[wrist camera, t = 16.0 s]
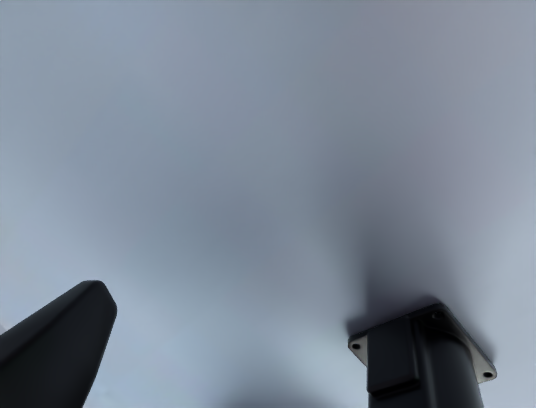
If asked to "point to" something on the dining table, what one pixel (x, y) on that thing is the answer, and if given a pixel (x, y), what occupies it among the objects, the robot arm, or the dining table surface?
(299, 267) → the dining table surface
